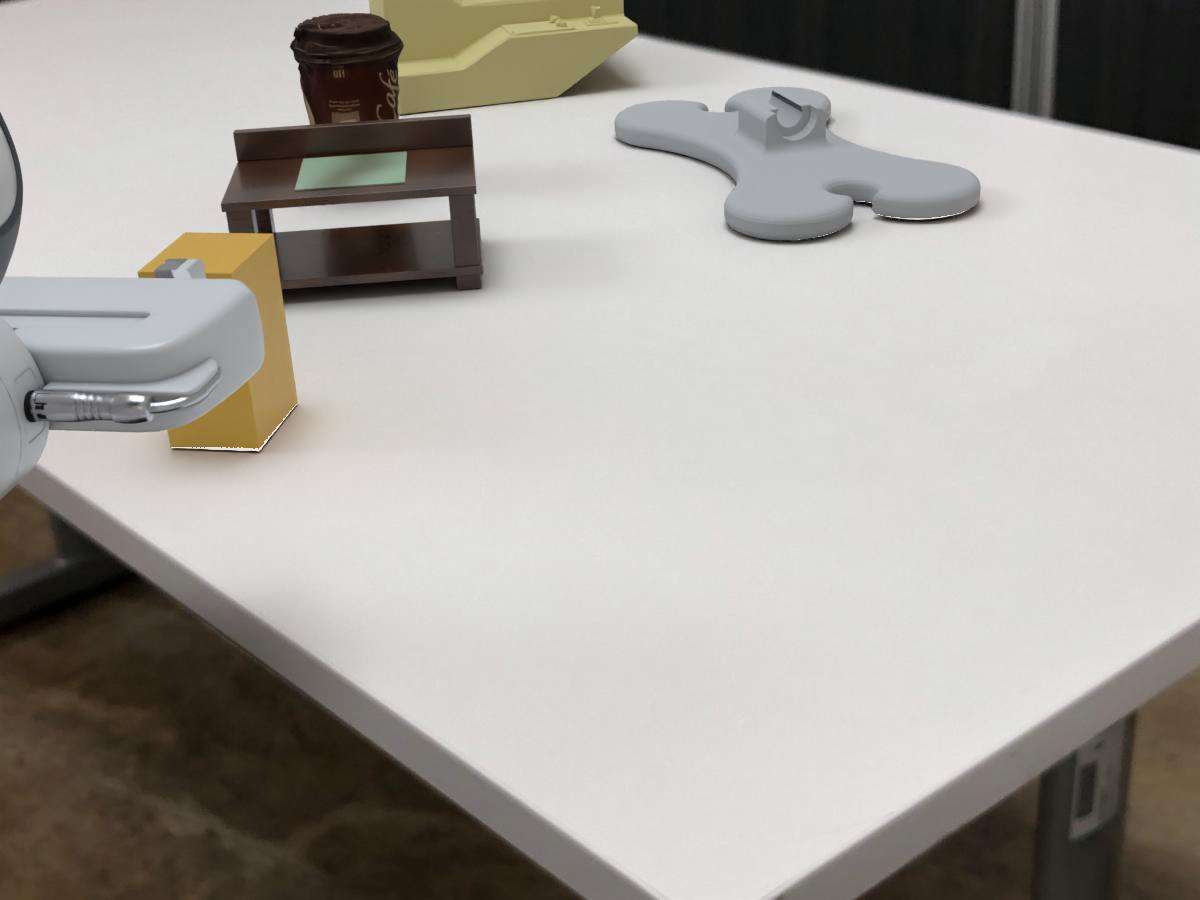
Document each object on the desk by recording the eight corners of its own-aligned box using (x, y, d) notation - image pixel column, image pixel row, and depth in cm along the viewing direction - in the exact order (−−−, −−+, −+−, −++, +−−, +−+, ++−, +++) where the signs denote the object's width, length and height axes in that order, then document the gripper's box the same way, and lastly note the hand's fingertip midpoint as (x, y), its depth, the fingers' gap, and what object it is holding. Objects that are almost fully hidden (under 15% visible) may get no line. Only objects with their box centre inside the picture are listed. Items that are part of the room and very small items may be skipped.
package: (170, 449, 83) (136, 271, 79) (214, 401, 88) (185, 232, 84) (259, 452, 82) (231, 273, 78) (298, 404, 88) (273, 233, 83)
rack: (237, 307, 101) (215, 172, 97) (253, 255, 110) (234, 129, 106) (484, 289, 102) (473, 154, 98) (481, 239, 111) (470, 113, 107)
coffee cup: (286, 201, 121) (262, 30, 115) (339, 169, 128) (319, 7, 122) (386, 209, 118) (367, 35, 112) (435, 177, 125) (419, 11, 119)
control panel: (400, -43, 135) (358, -95, 151) (387, 132, 142) (348, 65, 159) (657, -25, 143) (591, -76, 159) (632, 139, 150) (571, 75, 167)
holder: (804, 102, 140) (804, 46, 138) (1003, 212, 111) (1008, 143, 109) (601, 129, 135) (598, 71, 133) (753, 251, 106) (753, 179, 104)
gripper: (168, 332, 53) (305, 205, 65) (-360, 322, 57) (-138, 204, 69) (199, 496, 56) (325, 345, 68) (-306, 477, 60) (-102, 336, 72)
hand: (89, 274), depth 69 cm, fingers open, 8 cm apart
